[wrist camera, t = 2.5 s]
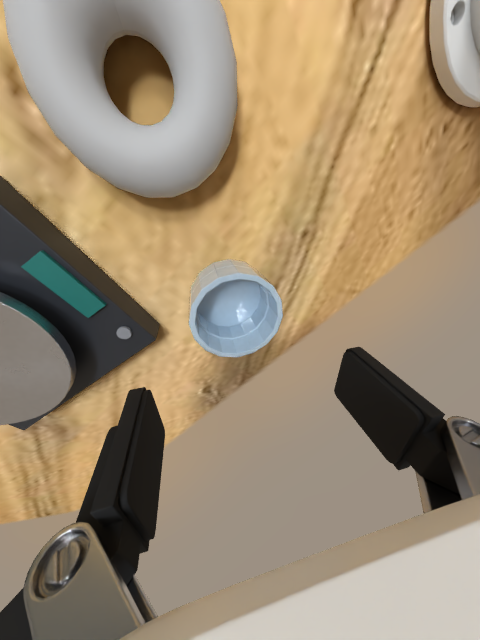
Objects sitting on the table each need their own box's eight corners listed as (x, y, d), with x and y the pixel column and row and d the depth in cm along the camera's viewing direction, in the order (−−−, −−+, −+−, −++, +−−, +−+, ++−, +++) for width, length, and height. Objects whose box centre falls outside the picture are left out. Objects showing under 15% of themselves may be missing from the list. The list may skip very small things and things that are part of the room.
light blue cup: (239, 241, 17) (254, 252, 13) (276, 302, 20) (296, 325, 16) (172, 288, 17) (167, 313, 13) (219, 340, 21) (225, 370, 17)
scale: (-1, 174, 12) (-49, 166, 10) (160, 324, 19) (155, 341, 16) (-158, 316, 14) (-233, 340, 11) (41, 407, 20) (21, 434, 18)
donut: (137, 227, 15) (259, 148, 14) (123, 233, 12) (276, 134, 11) (-17, 22, 10) (161, -126, 9) (-111, -57, 7) (143, -295, 6)
